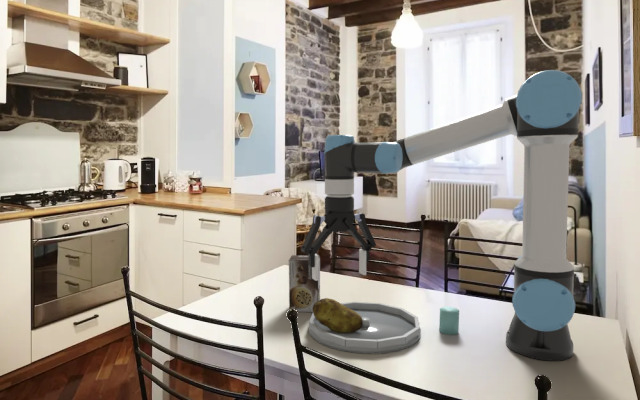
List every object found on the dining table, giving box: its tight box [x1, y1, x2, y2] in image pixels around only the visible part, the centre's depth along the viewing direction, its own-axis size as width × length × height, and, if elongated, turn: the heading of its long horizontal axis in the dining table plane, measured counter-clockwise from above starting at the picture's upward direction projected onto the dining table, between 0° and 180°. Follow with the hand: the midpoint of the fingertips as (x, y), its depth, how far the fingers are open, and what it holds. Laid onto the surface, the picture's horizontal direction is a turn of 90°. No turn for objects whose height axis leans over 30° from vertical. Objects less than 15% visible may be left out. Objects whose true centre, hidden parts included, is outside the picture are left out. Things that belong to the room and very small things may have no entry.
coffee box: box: [288, 254, 321, 313], centre depth 143 cm, size 9×6×16 cm
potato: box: [312, 297, 363, 333], centre depth 124 cm, size 8×13×8 cm, turn 57°
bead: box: [438, 306, 460, 336], centre depth 127 cm, size 5×5×6 cm
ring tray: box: [308, 301, 422, 355], centre depth 127 cm, size 30×30×3 cm
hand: (339, 276), depth 123 cm, fingers open, 13 cm apart
